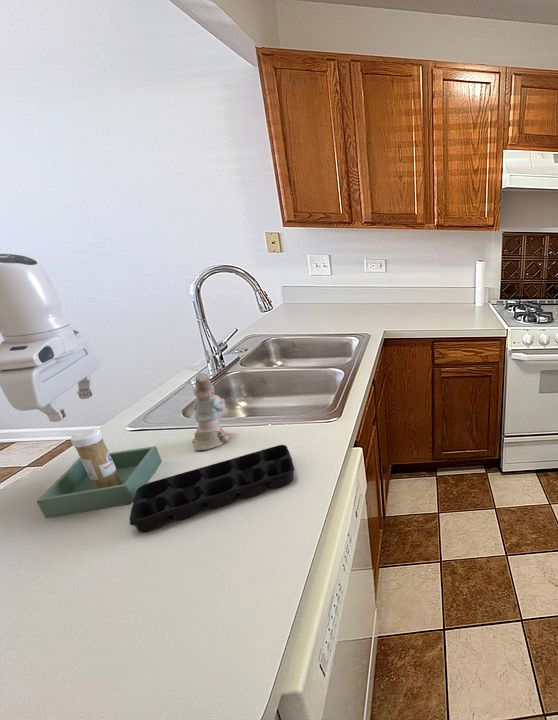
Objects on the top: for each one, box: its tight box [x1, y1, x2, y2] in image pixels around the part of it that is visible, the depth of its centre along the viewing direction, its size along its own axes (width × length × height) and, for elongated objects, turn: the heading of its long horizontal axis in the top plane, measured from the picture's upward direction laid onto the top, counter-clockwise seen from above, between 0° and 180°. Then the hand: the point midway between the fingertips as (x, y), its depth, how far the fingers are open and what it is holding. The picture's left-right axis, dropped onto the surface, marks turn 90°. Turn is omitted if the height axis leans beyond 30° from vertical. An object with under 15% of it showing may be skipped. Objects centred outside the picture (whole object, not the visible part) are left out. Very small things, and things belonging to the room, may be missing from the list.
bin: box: [36, 445, 162, 519], centre depth 86 cm, size 15×15×4 cm
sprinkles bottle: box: [70, 428, 122, 489], centre depth 84 cm, size 5×5×14 cm
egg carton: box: [129, 444, 296, 533], centre depth 85 cm, size 18×30×4 cm, turn 135°
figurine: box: [191, 372, 230, 451], centre depth 99 cm, size 9×8×20 cm
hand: (73, 407), depth 79 cm, fingers open, 8 cm apart
